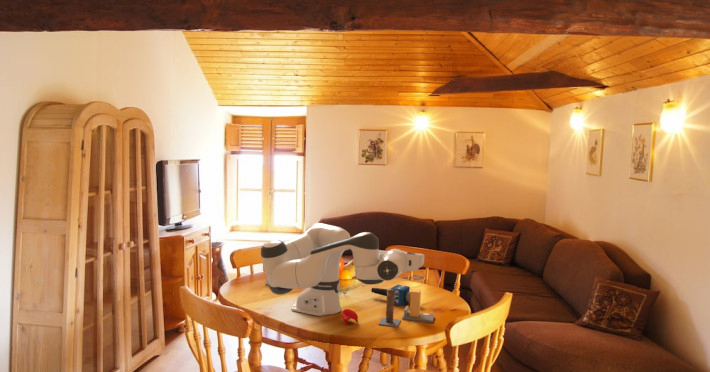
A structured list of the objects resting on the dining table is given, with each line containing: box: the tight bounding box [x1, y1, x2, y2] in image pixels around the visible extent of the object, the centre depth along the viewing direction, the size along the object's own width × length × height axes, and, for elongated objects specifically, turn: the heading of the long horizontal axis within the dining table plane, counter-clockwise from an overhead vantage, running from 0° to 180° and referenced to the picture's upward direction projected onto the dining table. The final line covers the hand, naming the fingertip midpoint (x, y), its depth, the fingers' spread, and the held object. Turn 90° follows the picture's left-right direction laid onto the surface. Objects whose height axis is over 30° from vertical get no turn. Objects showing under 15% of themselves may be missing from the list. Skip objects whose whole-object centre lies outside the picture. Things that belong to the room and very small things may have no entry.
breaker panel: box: [401, 305, 435, 324], centre depth 221 cm, size 13×8×4 cm, turn 76°
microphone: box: [370, 284, 411, 307], centre depth 243 cm, size 8×8×25 cm
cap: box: [340, 308, 359, 326], centre depth 212 cm, size 8×6×6 cm
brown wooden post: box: [385, 288, 395, 323], centre depth 213 cm, size 3×3×14 cm
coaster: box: [378, 317, 402, 328], centre depth 214 cm, size 8×8×1 cm
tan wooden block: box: [409, 288, 422, 317], centre depth 221 cm, size 4×4×11 cm
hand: (401, 253), depth 202 cm, fingers open, 8 cm apart
